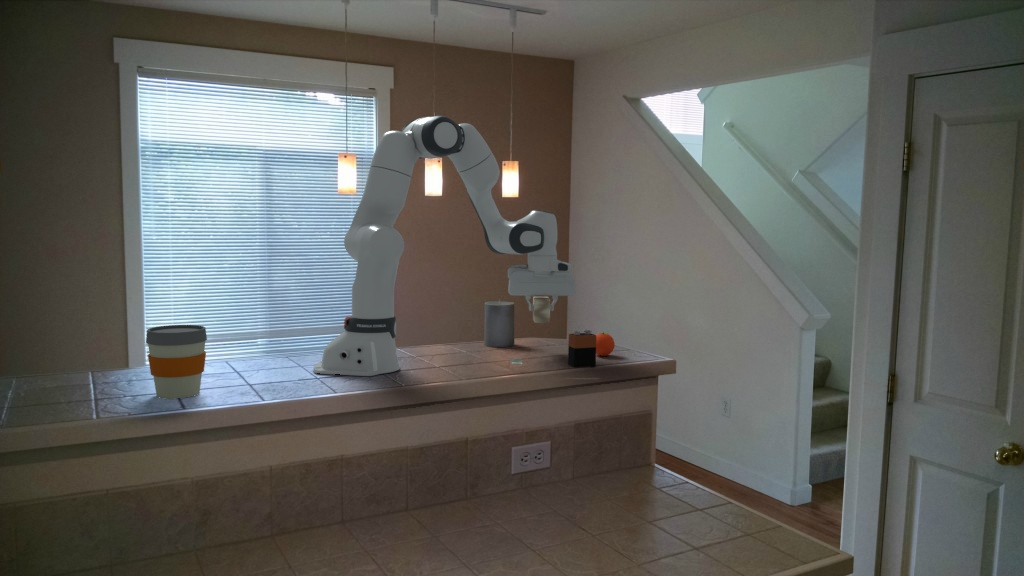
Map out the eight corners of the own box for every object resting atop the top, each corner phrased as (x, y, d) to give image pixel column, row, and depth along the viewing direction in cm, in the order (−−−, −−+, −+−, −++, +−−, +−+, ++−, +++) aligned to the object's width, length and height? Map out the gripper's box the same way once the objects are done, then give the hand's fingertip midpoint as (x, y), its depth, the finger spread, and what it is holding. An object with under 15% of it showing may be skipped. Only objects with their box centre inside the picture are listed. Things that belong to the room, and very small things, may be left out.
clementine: (596, 352, 234) (597, 329, 233) (618, 354, 231) (619, 331, 230) (587, 356, 227) (588, 333, 226) (610, 358, 224) (610, 335, 223)
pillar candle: (501, 341, 251) (501, 296, 249) (520, 345, 244) (520, 299, 242) (478, 344, 245) (478, 298, 243) (497, 348, 237) (497, 301, 236)
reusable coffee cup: (139, 393, 172) (137, 327, 170) (194, 385, 180) (193, 323, 179) (159, 403, 163) (157, 334, 161) (217, 394, 172) (216, 329, 170)
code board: (494, 367, 208) (494, 365, 208) (493, 358, 220) (493, 357, 220) (541, 367, 209) (541, 366, 209) (537, 359, 221) (537, 357, 221)
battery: (596, 367, 211) (597, 331, 210) (574, 368, 208) (575, 332, 207) (588, 364, 215) (589, 329, 214) (567, 365, 212) (568, 330, 211)
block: (534, 322, 225) (535, 299, 224) (532, 319, 233) (533, 296, 232) (549, 322, 225) (550, 299, 225) (547, 319, 233) (547, 296, 232)
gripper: (508, 265, 224) (507, 311, 225) (576, 265, 225) (575, 312, 226) (507, 263, 230) (506, 308, 231) (574, 264, 231) (573, 309, 232)
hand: (541, 310), depth 229 cm, fingers closed on block, 4 cm apart
